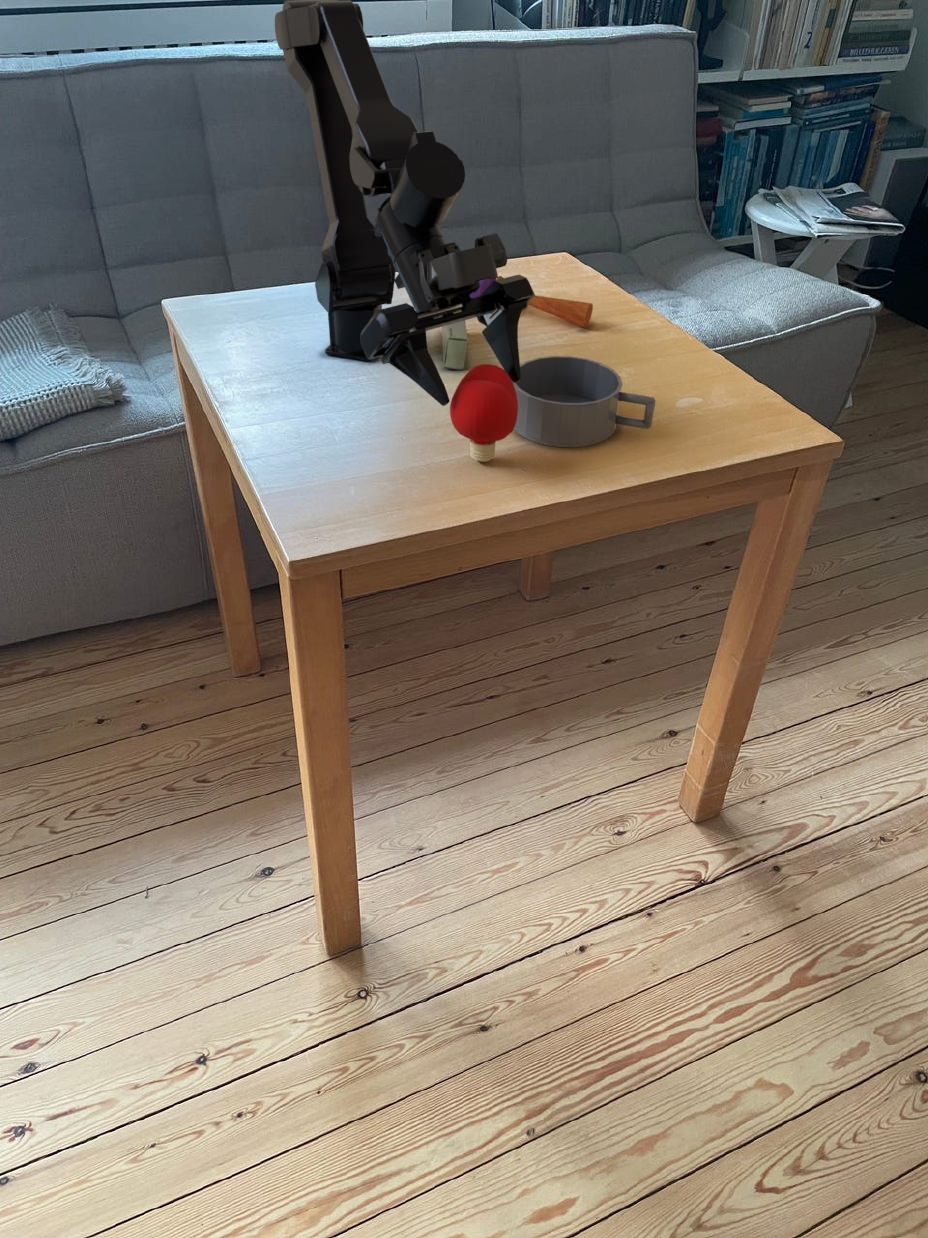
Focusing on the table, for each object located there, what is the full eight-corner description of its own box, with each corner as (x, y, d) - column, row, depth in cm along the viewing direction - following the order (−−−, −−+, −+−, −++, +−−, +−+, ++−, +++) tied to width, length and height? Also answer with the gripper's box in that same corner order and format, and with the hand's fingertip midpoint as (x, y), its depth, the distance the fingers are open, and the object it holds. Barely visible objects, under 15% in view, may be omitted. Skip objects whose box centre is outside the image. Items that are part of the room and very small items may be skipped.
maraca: (583, 307, 123) (447, 271, 129) (578, 345, 128) (448, 309, 133) (598, 284, 127) (466, 250, 132) (593, 323, 132) (465, 288, 137)
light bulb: (507, 487, 96) (512, 398, 90) (441, 479, 97) (441, 390, 90) (520, 444, 103) (526, 359, 97) (459, 437, 104) (460, 352, 98)
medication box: (464, 370, 117) (468, 340, 115) (443, 369, 117) (446, 338, 114) (459, 330, 126) (463, 301, 124) (440, 328, 126) (443, 299, 123)
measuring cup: (495, 436, 104) (497, 393, 101) (524, 389, 113) (527, 349, 110) (640, 461, 100) (647, 418, 97) (658, 411, 110) (665, 370, 106)
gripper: (369, 223, 83) (441, 383, 83) (529, 191, 92) (593, 336, 92) (331, 285, 93) (395, 428, 93) (478, 251, 102) (537, 381, 102)
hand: (482, 392), depth 95 cm, fingers open, 9 cm apart
